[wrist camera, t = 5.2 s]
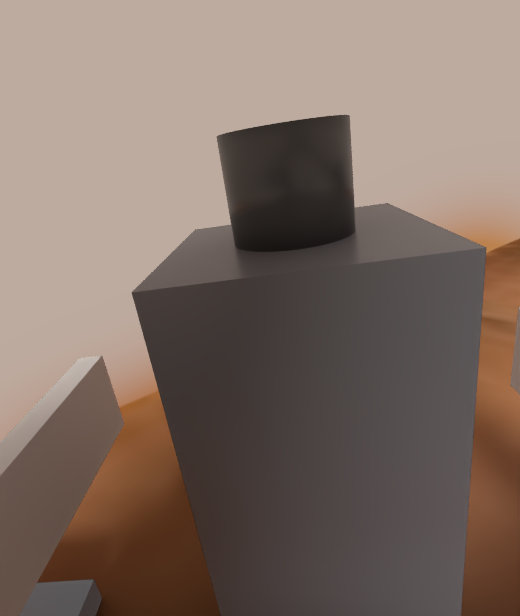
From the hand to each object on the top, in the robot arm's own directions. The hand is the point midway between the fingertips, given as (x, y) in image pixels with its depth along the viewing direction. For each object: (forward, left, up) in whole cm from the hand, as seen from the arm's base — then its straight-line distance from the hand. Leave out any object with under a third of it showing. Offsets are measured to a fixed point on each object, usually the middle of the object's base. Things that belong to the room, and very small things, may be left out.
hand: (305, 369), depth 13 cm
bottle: (0, +3, -7) cm, 8 cm away
